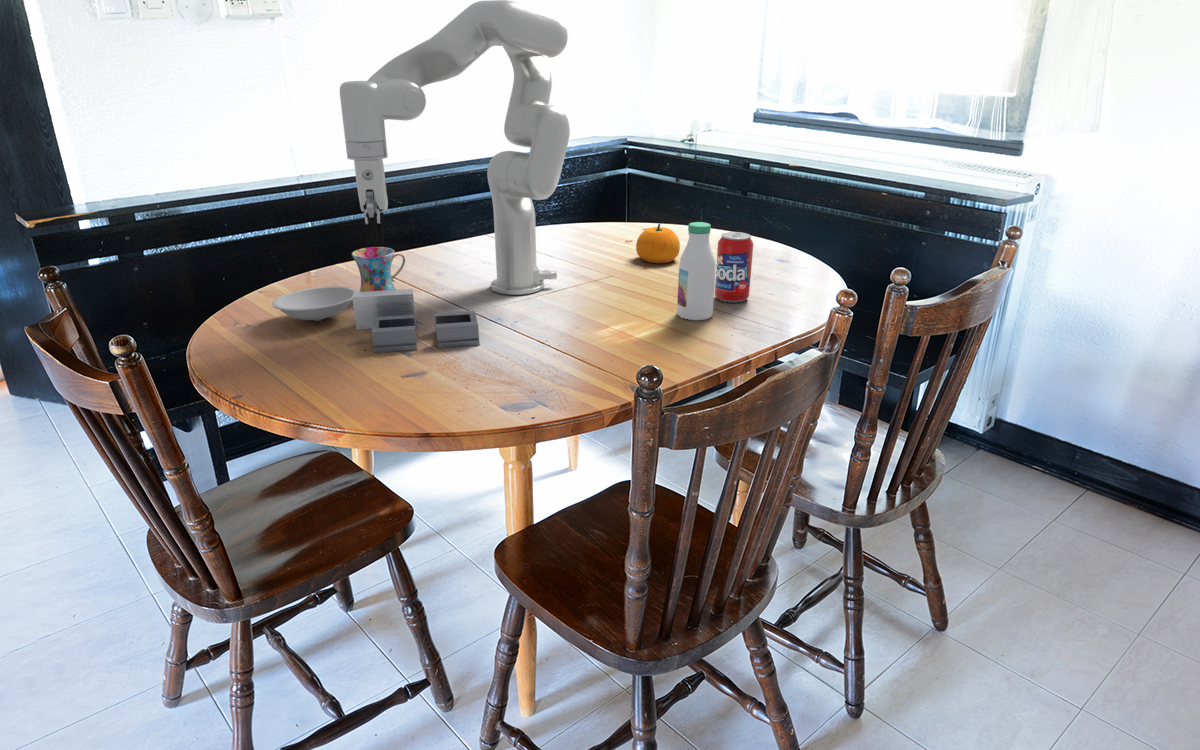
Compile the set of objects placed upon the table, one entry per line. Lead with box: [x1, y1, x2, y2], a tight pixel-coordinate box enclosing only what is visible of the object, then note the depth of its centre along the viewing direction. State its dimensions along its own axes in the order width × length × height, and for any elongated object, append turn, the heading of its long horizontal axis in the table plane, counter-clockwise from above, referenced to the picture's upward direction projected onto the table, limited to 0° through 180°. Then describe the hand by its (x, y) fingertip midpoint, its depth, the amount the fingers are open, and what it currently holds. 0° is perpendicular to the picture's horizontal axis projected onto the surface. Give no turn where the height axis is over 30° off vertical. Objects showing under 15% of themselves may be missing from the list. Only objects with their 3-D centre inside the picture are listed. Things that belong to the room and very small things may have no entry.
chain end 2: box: [434, 310, 481, 349], centre depth 158 cm, size 8×10×4 cm
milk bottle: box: [676, 221, 716, 321], centre depth 168 cm, size 8×8×20 cm
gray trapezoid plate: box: [352, 288, 417, 331], centre depth 164 cm, size 12×4×7 cm, turn 103°
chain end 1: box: [371, 314, 418, 354], centre depth 155 cm, size 8×10×4 cm
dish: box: [271, 285, 359, 322], centre depth 167 cm, size 18×14×5 cm
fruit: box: [635, 223, 681, 264], centre depth 211 cm, size 12×12×10 cm
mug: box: [351, 246, 406, 292], centre depth 181 cm, size 12×9×11 cm
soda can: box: [714, 231, 754, 304], centre depth 179 cm, size 8×8×15 cm
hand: (376, 238), depth 158 cm, fingers open, 9 cm apart
